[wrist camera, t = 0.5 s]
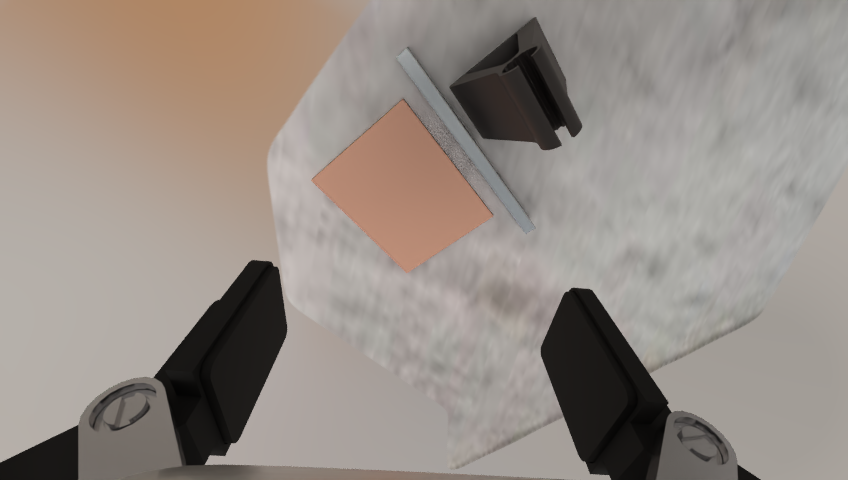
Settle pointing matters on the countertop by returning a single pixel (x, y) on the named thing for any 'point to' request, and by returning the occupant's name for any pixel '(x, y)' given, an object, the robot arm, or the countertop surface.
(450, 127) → the acrylic wall
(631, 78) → the countertop surface
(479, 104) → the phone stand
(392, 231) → the mat
